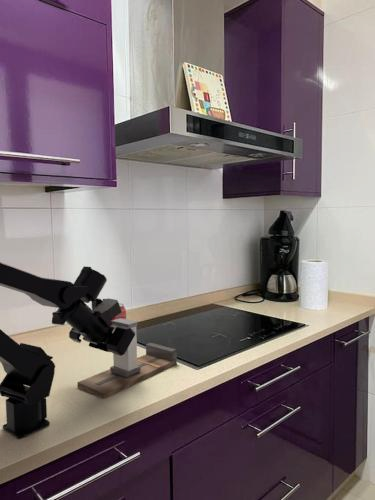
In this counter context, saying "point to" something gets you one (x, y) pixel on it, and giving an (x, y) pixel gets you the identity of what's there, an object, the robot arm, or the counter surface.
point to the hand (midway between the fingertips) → (119, 351)
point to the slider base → (149, 365)
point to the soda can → (122, 314)
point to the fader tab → (128, 361)
